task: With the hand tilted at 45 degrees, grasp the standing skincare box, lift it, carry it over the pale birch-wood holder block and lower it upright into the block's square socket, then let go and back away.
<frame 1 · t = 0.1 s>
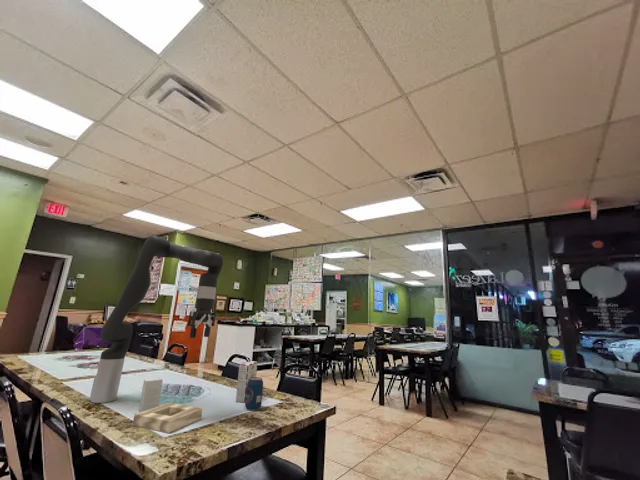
hand: (199, 337, 122), 29 cm above the table, tool pointing down, fingers open, 8 cm apart
soda can: (252, 408, 128), on the table
socket block: (168, 421, 108), on the table
candy bar box: (244, 400, 140), on the table
skincare box: (147, 412, 117), on the table
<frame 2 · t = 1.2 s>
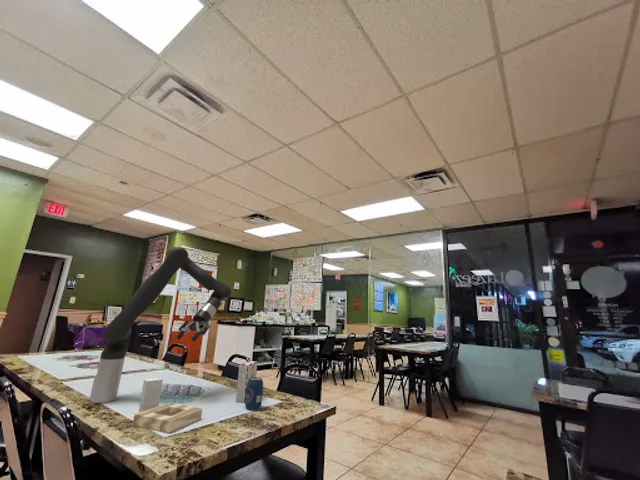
hand: (185, 339, 137), 27 cm above the table, tool tilted 45°, fingers open, 8 cm apart
nothing on the table moved.
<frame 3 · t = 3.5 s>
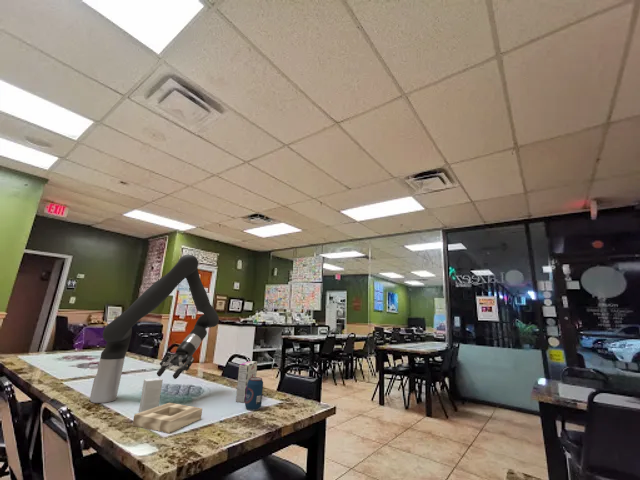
hand: (166, 376, 126), 12 cm above the table, tool tilted 45°, fingers open, 8 cm apart
nothing on the table moved.
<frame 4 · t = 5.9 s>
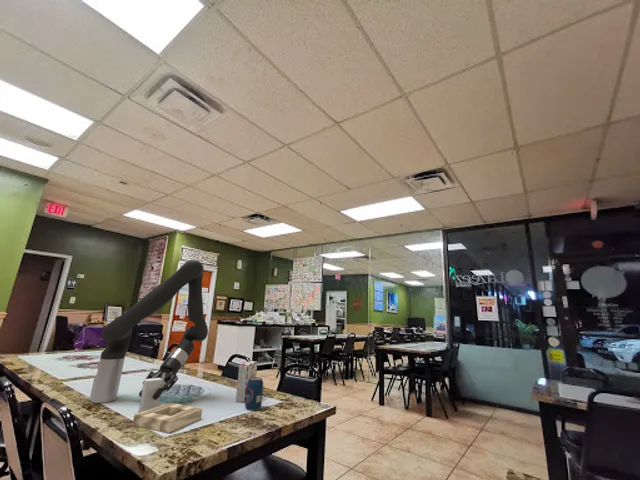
hand: (147, 397, 117), 6 cm above the table, tool tilted 45°, fingers closed on skincare box, 6 cm apart
skincare box: (147, 412, 117), on the table, touching gripper
everything else where it was.
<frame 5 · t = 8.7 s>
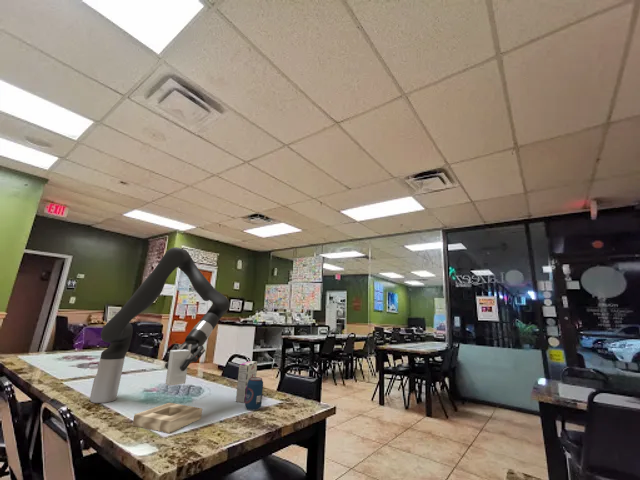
hand: (174, 368, 111), 18 cm above the table, tool tilted 45°, fingers closed on skincare box, 6 cm apart
skincare box: (175, 384, 111), point 13 cm above the table, touching gripper
everything else where it was.
when the fingers open (7 cm above the table, at t = 11.9 s): skincare box drops 2 cm, resting in socket block.
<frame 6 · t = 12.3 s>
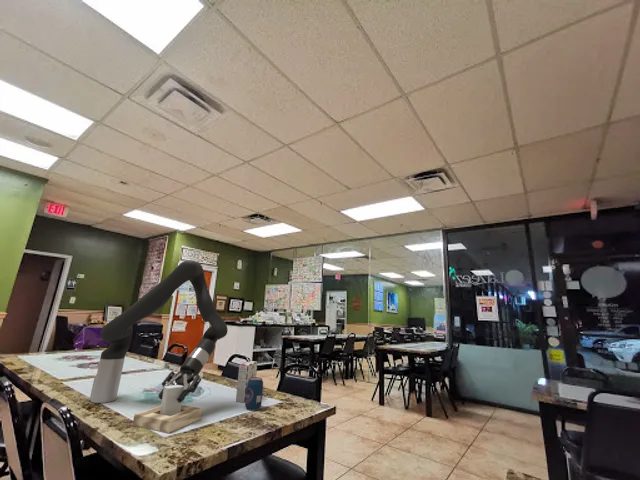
hand: (169, 399, 108), 8 cm above the table, tool tilted 45°, fingers open, 8 cm apart
skincare box: (168, 422, 108), resting in socket block
everything else where it was.
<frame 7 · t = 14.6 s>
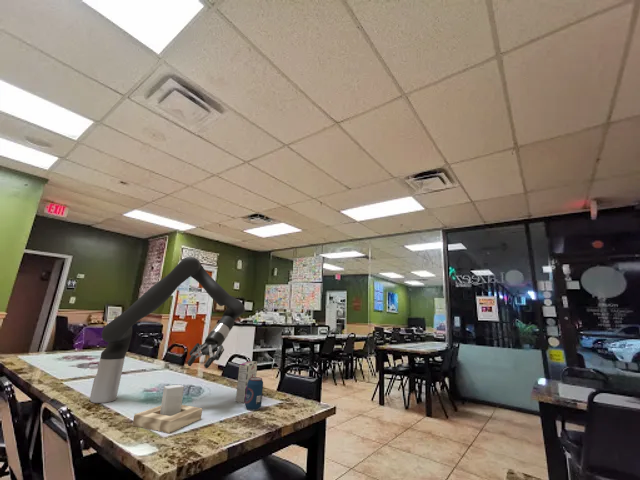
hand: (196, 366, 123), 18 cm above the table, tool tilted 45°, fingers open, 8 cm apart
nothing on the table moved.
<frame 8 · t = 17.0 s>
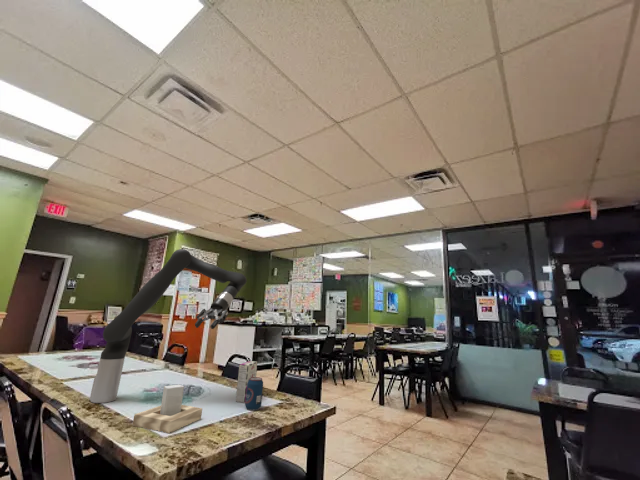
hand: (203, 327, 134), 33 cm above the table, tool tilted 45°, fingers open, 8 cm apart
nothing on the table moved.
at the end: skincare box 0.2 cm off-centre on the socket block, point 0.0 cm above the socket block's base; skincare box tilted 0°; the gripper is holding nothing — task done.
